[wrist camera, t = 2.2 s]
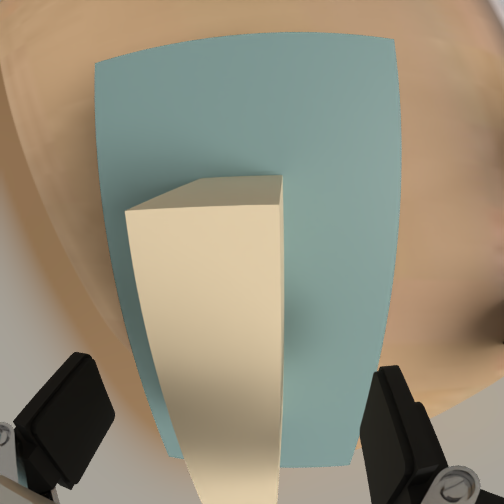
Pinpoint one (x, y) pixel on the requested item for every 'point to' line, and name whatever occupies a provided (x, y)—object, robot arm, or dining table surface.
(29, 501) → the robot arm
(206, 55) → the lid
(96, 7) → the dining table surface
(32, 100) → the dining table surface
